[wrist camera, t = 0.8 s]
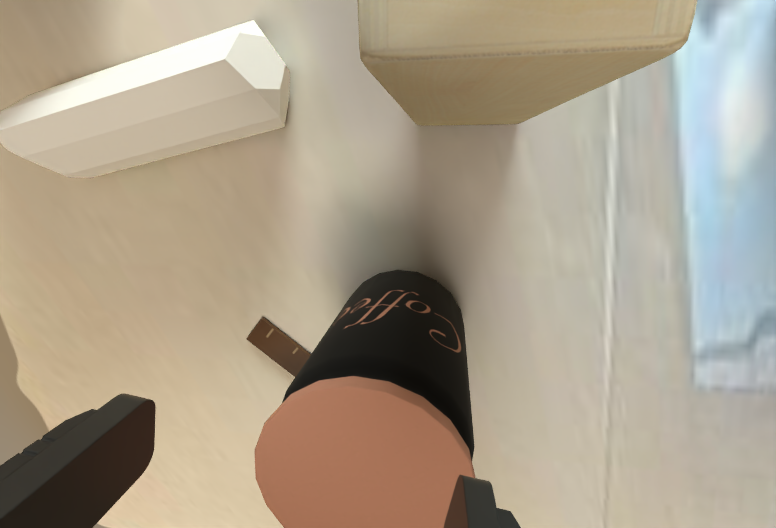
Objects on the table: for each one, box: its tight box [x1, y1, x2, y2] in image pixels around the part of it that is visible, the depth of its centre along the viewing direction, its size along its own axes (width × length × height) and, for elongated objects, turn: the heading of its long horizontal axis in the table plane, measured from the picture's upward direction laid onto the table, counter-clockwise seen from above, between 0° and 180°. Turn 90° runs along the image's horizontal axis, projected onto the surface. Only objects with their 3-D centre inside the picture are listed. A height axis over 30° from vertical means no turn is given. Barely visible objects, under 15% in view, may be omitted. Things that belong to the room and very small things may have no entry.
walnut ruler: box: [247, 317, 311, 377], centre depth 37 cm, size 15×3×1 cm, turn 51°
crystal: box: [0, 20, 290, 178], centre depth 30 cm, size 7×7×24 cm
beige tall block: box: [358, 0, 697, 125], centre depth 18 cm, size 8×7×21 cm
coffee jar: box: [255, 270, 475, 528], centre depth 26 cm, size 11×11×18 cm
